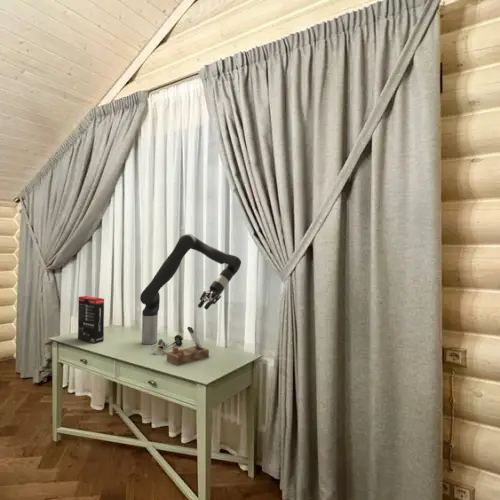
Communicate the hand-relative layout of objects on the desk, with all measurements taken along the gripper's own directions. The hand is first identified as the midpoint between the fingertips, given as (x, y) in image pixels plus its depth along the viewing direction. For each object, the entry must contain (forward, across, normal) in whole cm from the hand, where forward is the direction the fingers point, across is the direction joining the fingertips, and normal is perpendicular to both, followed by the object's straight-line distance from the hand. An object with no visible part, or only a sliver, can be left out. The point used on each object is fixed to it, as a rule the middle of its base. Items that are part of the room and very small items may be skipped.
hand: (202, 307), depth 185 cm
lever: (+15, 0, +8) cm, 17 cm away
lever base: (+25, 0, +12) cm, 28 cm away
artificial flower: (+25, -21, +13) cm, 35 cm away
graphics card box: (+43, -69, -6) cm, 81 cm away
